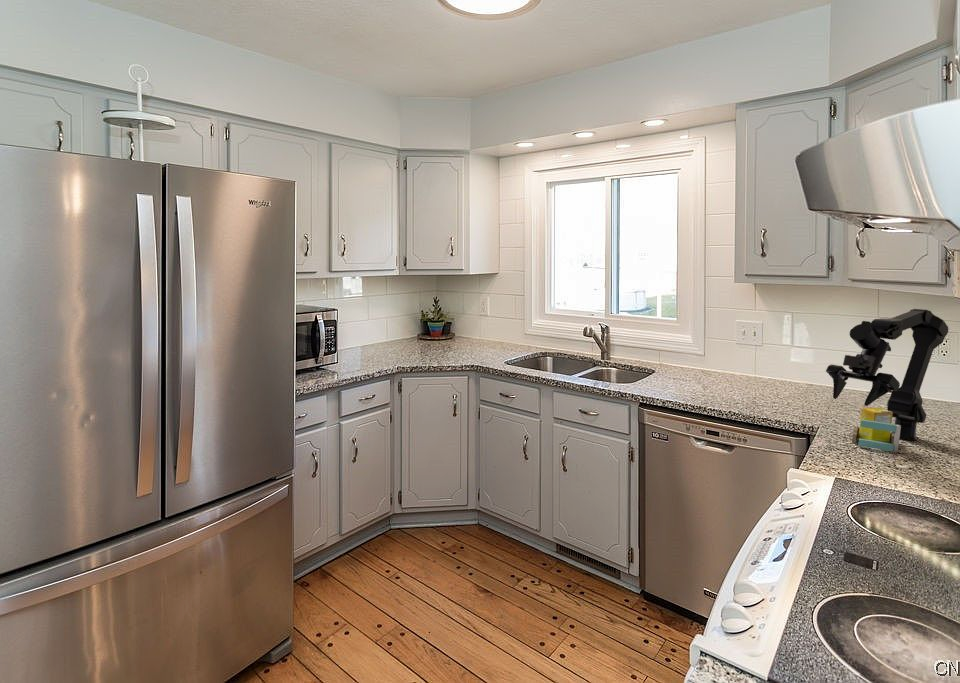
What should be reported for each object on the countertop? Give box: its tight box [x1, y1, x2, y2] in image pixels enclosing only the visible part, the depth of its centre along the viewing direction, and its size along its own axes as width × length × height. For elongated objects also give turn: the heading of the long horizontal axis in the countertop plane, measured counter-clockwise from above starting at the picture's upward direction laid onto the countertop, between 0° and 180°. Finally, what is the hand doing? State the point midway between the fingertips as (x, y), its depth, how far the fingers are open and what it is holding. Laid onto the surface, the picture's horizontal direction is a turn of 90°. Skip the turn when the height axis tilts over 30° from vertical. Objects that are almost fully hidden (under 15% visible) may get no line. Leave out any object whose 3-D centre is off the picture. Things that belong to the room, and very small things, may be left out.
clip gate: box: [857, 419, 901, 453], centre depth 171 cm, size 1×10×8 cm, turn 54°
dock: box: [851, 426, 895, 445], centre depth 178 cm, size 10×11×3 cm
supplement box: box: [857, 407, 893, 443], centre depth 177 cm, size 6×6×11 cm
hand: (849, 401), depth 169 cm, fingers open, 9 cm apart
